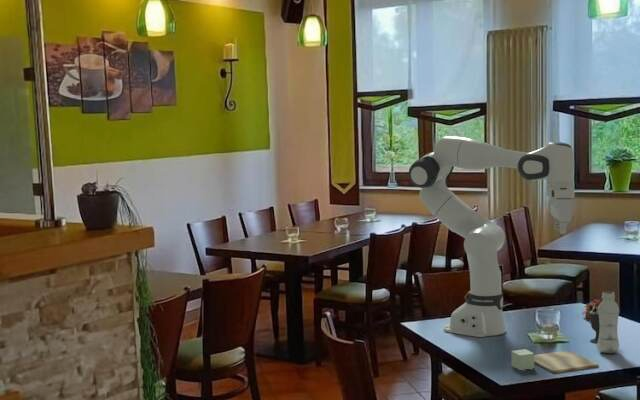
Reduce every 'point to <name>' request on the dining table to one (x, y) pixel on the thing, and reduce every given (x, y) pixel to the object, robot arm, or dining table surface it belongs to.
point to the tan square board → (563, 361)
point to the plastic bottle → (608, 324)
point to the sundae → (594, 321)
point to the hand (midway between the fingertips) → (560, 231)
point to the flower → (589, 307)
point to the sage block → (522, 359)
